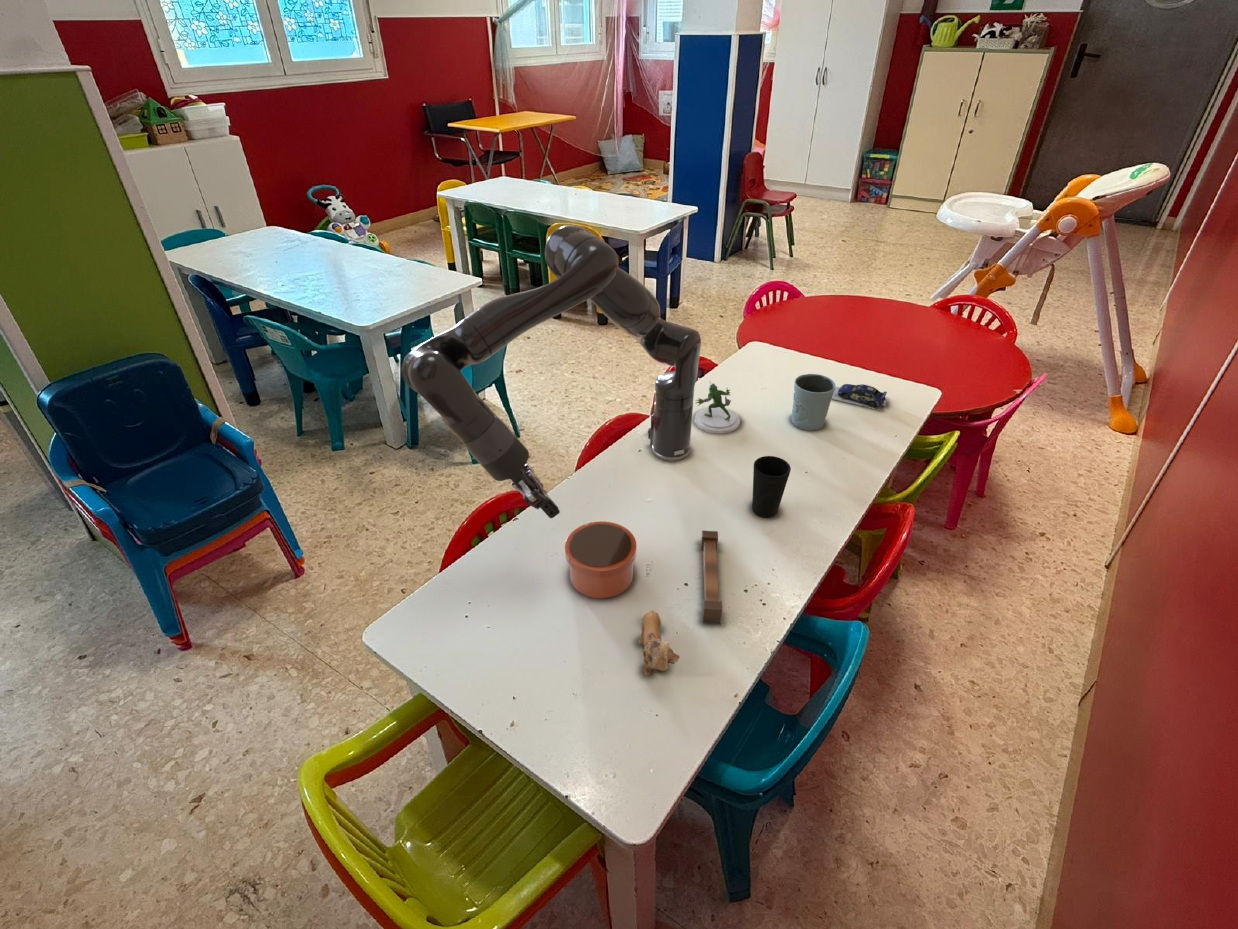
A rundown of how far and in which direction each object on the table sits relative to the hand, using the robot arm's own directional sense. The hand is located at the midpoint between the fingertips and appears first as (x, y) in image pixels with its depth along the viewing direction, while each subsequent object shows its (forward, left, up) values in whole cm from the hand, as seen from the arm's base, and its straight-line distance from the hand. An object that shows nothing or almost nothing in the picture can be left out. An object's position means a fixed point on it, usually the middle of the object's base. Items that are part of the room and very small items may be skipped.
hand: (554, 513), depth 114 cm
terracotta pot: (+5, +7, -16) cm, 18 cm away
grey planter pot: (-3, +84, -17) cm, 85 cm away
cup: (+13, +47, -17) cm, 51 cm away
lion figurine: (+26, +2, -17) cm, 31 cm away
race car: (-1, +105, -17) cm, 106 cm away
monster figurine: (-19, +66, -17) cm, 70 cm away
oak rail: (+20, +22, -16) cm, 34 cm away
